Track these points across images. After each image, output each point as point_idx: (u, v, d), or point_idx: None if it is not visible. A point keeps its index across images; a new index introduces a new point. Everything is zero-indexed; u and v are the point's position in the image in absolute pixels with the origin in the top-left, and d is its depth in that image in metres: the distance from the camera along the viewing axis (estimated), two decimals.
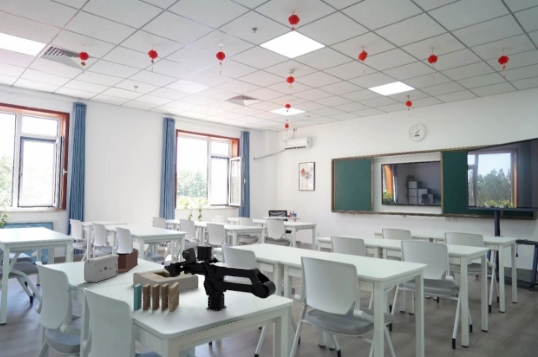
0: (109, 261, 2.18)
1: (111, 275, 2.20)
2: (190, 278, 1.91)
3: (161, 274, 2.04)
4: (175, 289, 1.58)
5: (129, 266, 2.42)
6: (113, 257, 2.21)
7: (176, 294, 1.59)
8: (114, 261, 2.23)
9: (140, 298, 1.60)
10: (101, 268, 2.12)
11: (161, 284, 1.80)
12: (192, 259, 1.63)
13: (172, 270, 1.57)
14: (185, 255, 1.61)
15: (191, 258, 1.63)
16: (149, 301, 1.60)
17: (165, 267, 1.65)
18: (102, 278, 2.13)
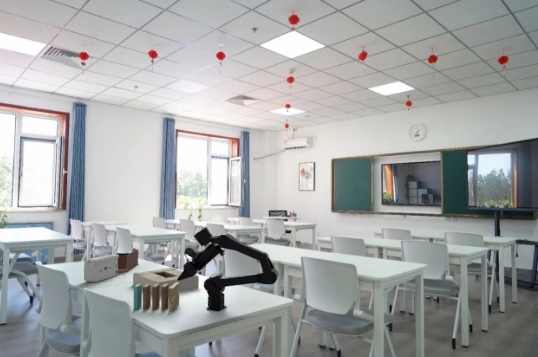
0: (109, 261, 2.18)
1: (111, 275, 2.20)
2: (190, 278, 1.91)
3: (161, 274, 2.04)
4: (175, 289, 1.58)
5: (129, 266, 2.43)
6: (113, 257, 2.21)
7: (176, 294, 1.59)
8: (114, 261, 2.23)
9: (140, 298, 1.60)
10: (101, 268, 2.12)
11: (161, 284, 1.80)
12: (197, 252, 1.59)
13: (190, 268, 1.50)
14: (190, 251, 1.56)
15: (196, 251, 1.58)
16: (149, 301, 1.60)
17: (179, 278, 1.55)
18: (102, 278, 2.13)
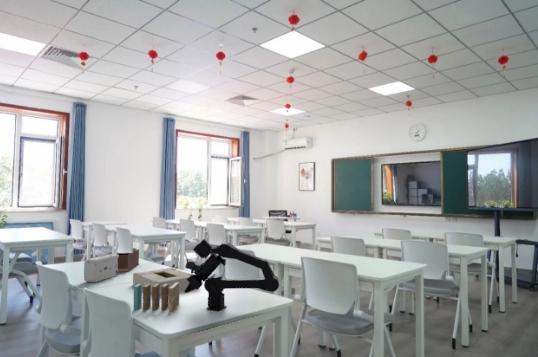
0: (109, 261, 2.18)
1: (111, 275, 2.20)
2: None
3: (161, 274, 2.04)
4: (175, 289, 1.58)
5: (131, 266, 2.43)
6: (113, 257, 2.21)
7: (176, 294, 1.59)
8: (114, 261, 2.23)
9: (140, 298, 1.60)
10: (101, 268, 2.12)
11: (162, 284, 1.80)
12: (199, 264, 1.58)
13: (194, 282, 1.49)
14: (191, 264, 1.55)
15: (197, 264, 1.58)
16: (149, 301, 1.60)
17: (186, 290, 1.58)
18: (102, 278, 2.13)
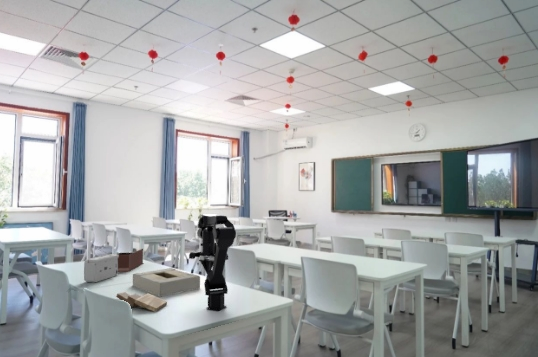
0: (109, 261, 2.18)
1: (111, 275, 2.20)
2: (192, 278, 1.90)
3: (161, 275, 2.03)
4: (144, 298, 1.59)
5: (132, 265, 2.45)
6: (113, 257, 2.21)
7: (151, 299, 1.60)
8: (114, 261, 2.23)
9: None
10: (101, 268, 2.12)
11: (163, 285, 1.79)
12: None
13: None
14: None
15: None
16: None
17: None
18: (102, 278, 2.13)
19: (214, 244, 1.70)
